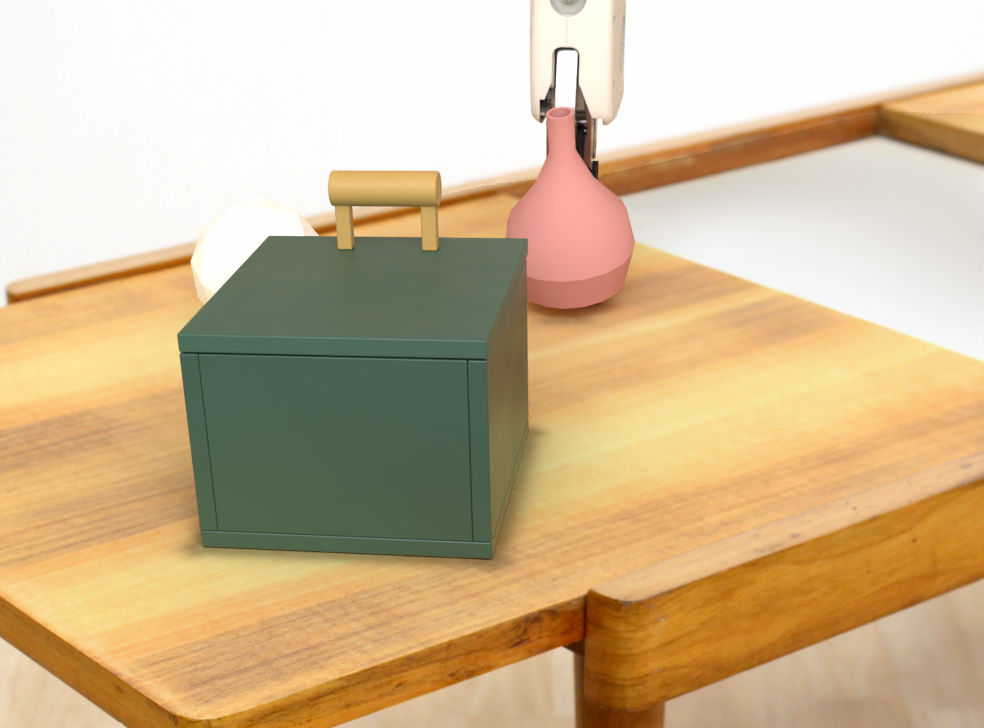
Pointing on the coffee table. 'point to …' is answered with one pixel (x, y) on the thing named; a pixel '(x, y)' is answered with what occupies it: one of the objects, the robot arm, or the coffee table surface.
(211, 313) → the bread bin lid
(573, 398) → the coffee table surface
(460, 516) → the bin
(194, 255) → the geometric ball
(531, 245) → the pink vase
